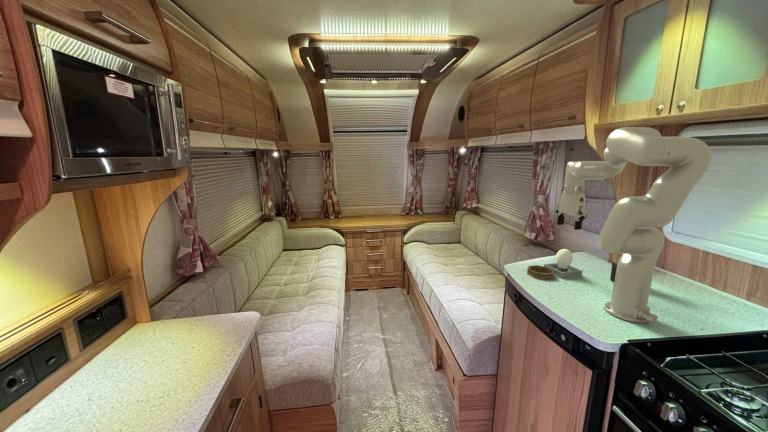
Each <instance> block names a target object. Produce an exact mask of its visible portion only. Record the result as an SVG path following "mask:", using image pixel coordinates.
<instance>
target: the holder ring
mask: <svg viewBox="0 0 768 432" xmlns="http://www.w3.org/2000/svg"><path fill="white" fill-rule="evenodd" d="M542 272H543V273H542ZM553 273H554V270H552V269H550V268H548V267H544V265H543V266H542V265H538V264H537V265H536V264H535V265H528V267H527V271H526V274H527V276H531V278H535V279H538V280H539V279H540V280H553V278H554V274H553Z"/></svg>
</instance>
